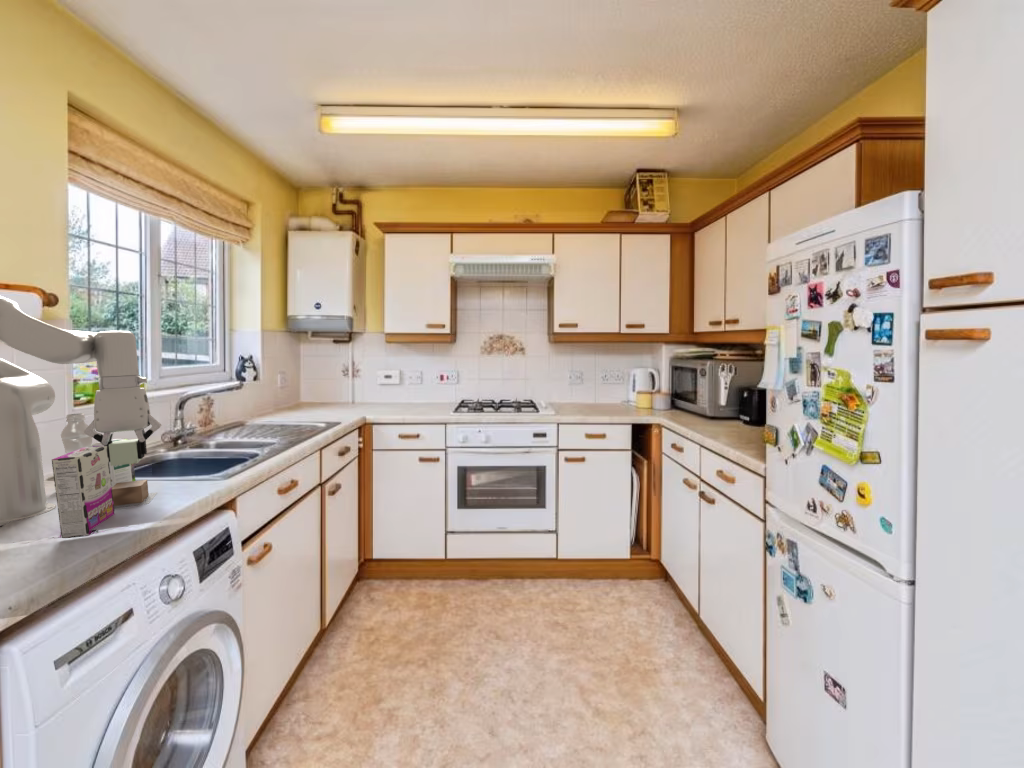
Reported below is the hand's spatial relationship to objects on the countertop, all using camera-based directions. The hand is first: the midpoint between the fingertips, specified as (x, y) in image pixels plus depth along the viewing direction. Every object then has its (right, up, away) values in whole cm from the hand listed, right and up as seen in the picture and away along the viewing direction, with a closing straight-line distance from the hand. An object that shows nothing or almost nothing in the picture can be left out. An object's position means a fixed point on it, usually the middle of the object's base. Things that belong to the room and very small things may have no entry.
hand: (126, 458), depth 117 cm
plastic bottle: (-27, -11, +19) cm, 35 cm away
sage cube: (0, -1, 0) cm, 1 cm away
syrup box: (-9, -11, +8) cm, 16 cm away
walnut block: (0, -10, +1) cm, 10 cm away
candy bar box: (+3, -13, -14) cm, 19 cm away
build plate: (0, -11, +1) cm, 11 cm away
